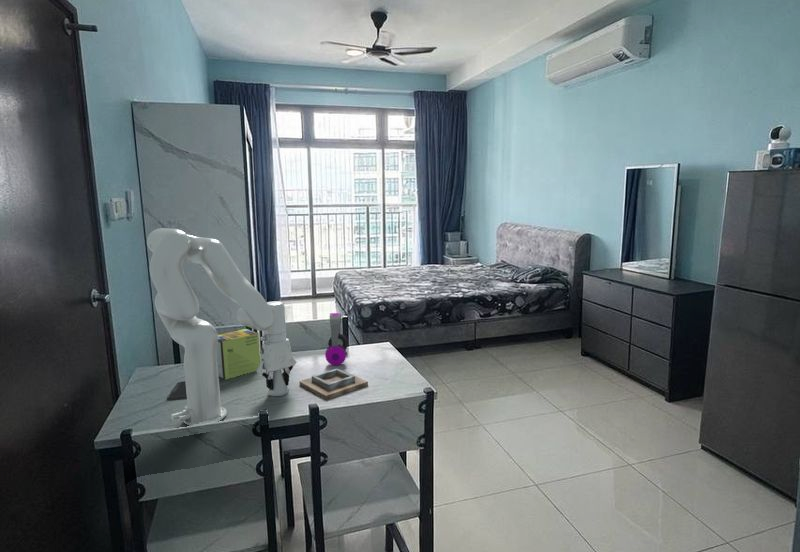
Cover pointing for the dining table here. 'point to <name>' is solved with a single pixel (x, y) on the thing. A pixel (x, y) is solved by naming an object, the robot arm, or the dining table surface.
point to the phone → (178, 391)
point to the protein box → (237, 353)
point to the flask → (278, 385)
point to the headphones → (336, 342)
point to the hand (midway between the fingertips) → (278, 386)
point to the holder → (333, 383)
